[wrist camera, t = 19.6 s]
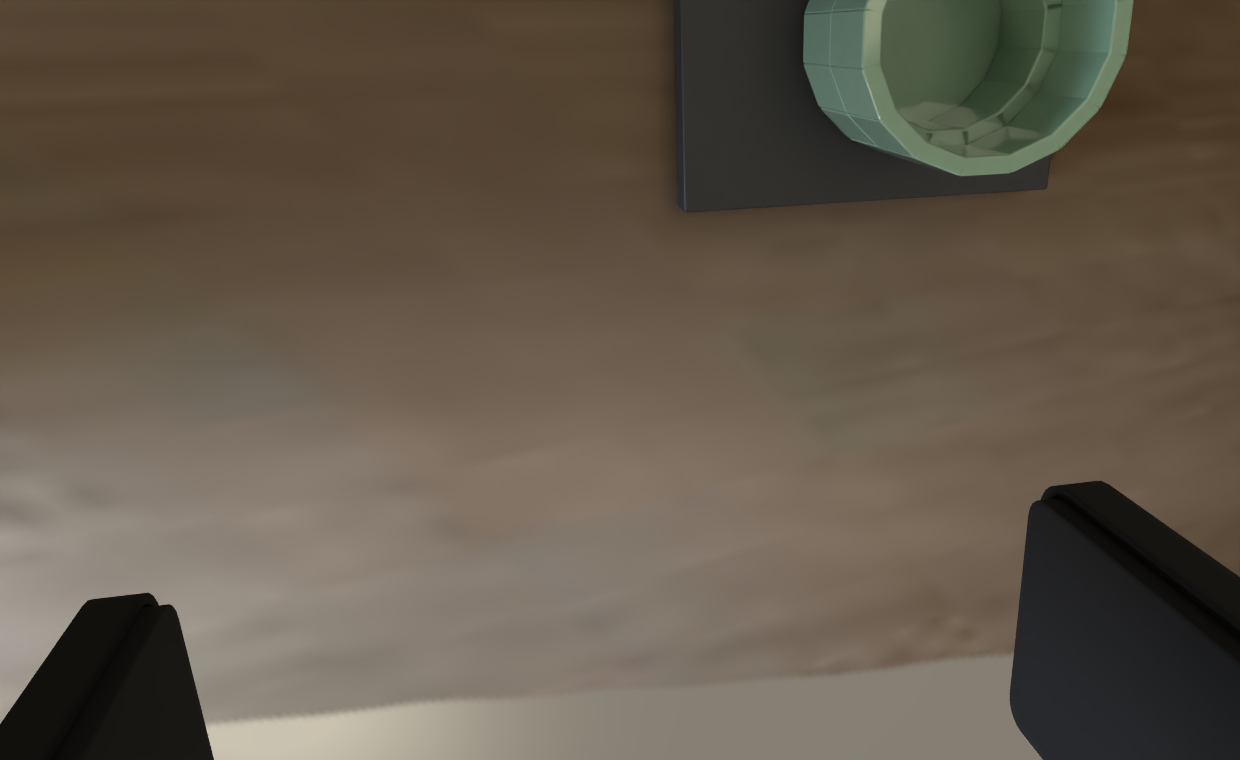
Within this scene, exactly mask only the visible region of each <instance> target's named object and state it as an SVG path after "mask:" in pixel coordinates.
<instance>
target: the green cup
mask: <svg viewBox="0 0 1240 760" xmlns="http://www.w3.org/2000/svg"><path fill="white" fill-rule="evenodd" d="M1133 2H1134V0H809V2H808V5H807V7H806V10H805V15H804V46H803V62H804V68H805V70H806V73H807V76H808V79H809V81H810V84H811V87H812V89H813V92H814V95H815V98H816V100H817V103H818V106H819V107H821V109H822V111H823V112H824V113H825V114H826V115H827V116H828V117H829V118H830V119H831V120H832V121H833V122H834V123H835V124H836V125H837V126H838V127H839V128H840V130H841V131H842V132H843V133H844V134H845V135H846V136H847V137H848V138H851V140H852V141H855V142H858V143H860V144H863V145H865V146H868V147H871V148H873V149H876V150H878V151H881V152H884V153H886V154H889V155H892V156H895V157H899V158H902V159H905V160H908V161H912V162H915V163H918V164H921V165H925V166H928V167H931V168H934V169H938V170H941V171H944V172H947V173H951V174H954V175H957V176H976V175H992V174H1008V173H1011V172H1015V171H1017V170H1019V169H1021V168H1023V167H1025V166H1027V165H1029V164H1031V163H1033V162H1035V161H1037V160H1040V159H1042V158H1044V157H1046V156H1048V155H1050V154H1052V153H1054V152H1056V151H1058V150H1059V149H1060V148H1062V147H1063V146H1064V145H1065V144H1066V143H1067V142H1068V141H1069V140H1070V139H1071V138H1072V137H1073V136H1074V135H1075V134H1076V133H1077V132H1078V131H1079V130H1080V129H1081V128H1082V127H1083V126H1084V125H1085V124H1086V123H1087V122H1088V121H1089V120H1090V119H1091V118H1092V117H1093V116H1094V115H1095V114H1096V113H1097V112H1098V111H1099V108H1101V106H1102V104H1103V102H1104V100H1105V98H1106V96H1107V94H1108V92H1109V90H1110V88H1111V86H1112V84H1113V82H1114V80H1115V78H1116V76H1117V74H1118V72H1119V70H1120V68H1121V66H1122V64H1123V62H1124V60H1125V57H1126V56H1125V55H1126V54H1127V48H1128V40H1129V33H1130V25H1131V17H1132V10H1133Z"/></svg>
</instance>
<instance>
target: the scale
mask: <svg viewBox="0 0 1240 760" xmlns="http://www.w3.org/2000/svg"><path fill="white" fill-rule="evenodd" d="M808 2H809V0H674V39H675V84H676V128H677V173H678V205H679V207H680V208H681V209H682V210H683V211H684V212H701V211H716V210H732V209H747V208H763V207H778V206H794V205H809V204H825V203H841V202H856V201H872V200H887V199H903V198H918V197H934V196H949V195H965V194H980V193H996V192H1011V191H1027V190H1043V189H1046V188H1047V184H1048V175H1049V165H1050V156H1051V154H1050V155H1048V156H1046V157H1044V158H1042V159H1040V160H1037V161H1035V162H1033V163H1031V164H1029V165H1027V166H1025V167H1023V168H1021V169H1019V170H1017V171H1015V172H1011V173H1008V174H992V175H976V176H957V175H954V174H951V173H947V172H944V171H941V170H938V169H934V168H931V167H928V166H925V165H921V164H918V163H915V162H912V161H908V160H905V159H902V158H899V157H895V156H892V155H889V154H886V153H884V152H881V151H878V150H876V149H873V148H871V147H868V146H865V145H863V144H860V143H858V142H855V141H852V140H851V138H848V137H847V136H846V135H845V134H844V133H843V132H842V131H841V130H840V128H839V127H838V126H837V125H836V124H835V123H834V122H833V121H832V120H831V119H830V118H829V117H828V116H827V115H826V114H825V113H824V112H823V111H822V109H821V107H819V106H818V103H817V100H816V98H815V95H814V92H813V89H812V87H811V84H810V81H809V79H808V76H807V73H806V70H805V68H804V62H803V46H804V15H805V10H806V7H807V5H808Z"/></svg>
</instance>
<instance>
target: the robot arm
mask: <svg viewBox="0 0 1240 760" xmlns="http://www.w3.org/2000/svg"><path fill="white" fill-rule="evenodd" d="M1010 705H1011V710H1012V714H1013V717H1014V720H1015V722H1016V724H1017V726H1018V728H1019V729H1020V731H1021V732H1022V733H1023V735H1024V736H1025V737H1026V739H1027V740H1028V741H1029V742H1030V744H1031V745H1032V746H1033V747H1034V749H1035V750H1036V751H1037V753H1038V754H1039V755H1040V756H1041V758H1042V759H1043V760H1240V577H1239V576H1237V575H1236V574H1235V573H1233V572H1232V571H1230V570H1229V569H1227V568H1226V567H1225V566H1223V565H1222V564H1220V563H1219V562H1218V561H1216V560H1215V559H1213V558H1212V557H1210V556H1209V555H1208V554H1206V553H1205V552H1203V551H1202V550H1201V549H1199V548H1198V547H1196V546H1195V545H1194V544H1192V543H1191V542H1189V541H1188V540H1186V539H1185V538H1184V537H1182V536H1181V535H1179V534H1178V533H1177V532H1175V531H1174V530H1172V529H1171V528H1169V527H1168V526H1167V525H1165V524H1164V523H1162V522H1161V521H1160V520H1158V519H1157V518H1155V517H1154V516H1153V515H1151V514H1150V513H1148V512H1147V511H1145V510H1144V509H1143V508H1141V507H1140V506H1138V505H1137V504H1136V503H1134V502H1133V501H1131V500H1130V499H1129V498H1127V497H1126V496H1124V495H1123V494H1121V493H1120V492H1119V491H1117V490H1116V489H1114V488H1113V487H1112V486H1110V485H1109V484H1107V483H1104V482H1102V481H1092V482H1084V483H1075V484H1067V485H1058V486H1051V487H1049V488H1048V489H1046V490H1045V492H1044V494H1043V496H1042V498H1041V500H1039V501H1036V502H1034V503H1033V504H1032V506H1031V508H1030V511H1029V515H1028V524H1027V534H1026V543H1025V553H1024V563H1023V572H1022V582H1021V591H1020V601H1019V611H1018V620H1017V630H1016V639H1015V649H1014V659H1013V669H1012V678H1011V687H1010ZM0 760H214V758H213V754H212V750H211V746H210V742H209V739H208V734H207V730H206V726H205V722H204V718H203V714H202V710H201V706H200V702H199V698H198V694H197V690H196V686H195V682H194V678H193V674H192V670H191V666H190V662H189V658H188V654H187V650H186V646H185V642H184V638H183V634H182V630H181V626H180V622H179V618H178V615H177V612H176V610H175V609H174V607H173V606H172V605H170V604H168V605H160V606H159V605H158V602H157V601H156V599H155V598H154V596H153V595H151V594H150V593H142V594H133V595H125V596H116V597H108V598H99V599H92V600H88V601H87V602H86V603H85V604H84V605H83V606H82V607H81V609H80V610H79V612H78V613H77V615H76V616H75V617H74V619H73V620H72V622H71V623H70V625H69V626H68V628H67V629H66V630H65V632H64V633H63V635H62V636H61V638H60V639H59V640H58V642H57V643H56V645H55V646H54V648H53V649H52V651H51V652H50V653H49V655H48V656H47V658H46V659H45V661H44V662H43V664H42V665H41V666H40V668H39V669H38V671H37V672H36V674H35V675H34V676H33V678H32V679H31V681H30V682H29V684H28V685H27V687H26V688H25V689H24V691H23V692H22V694H21V695H20V697H19V698H18V700H17V701H16V702H15V704H14V705H13V707H12V708H11V710H10V711H9V712H8V714H7V715H6V717H5V718H4V720H3V721H2V723H1V724H0Z"/></svg>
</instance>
